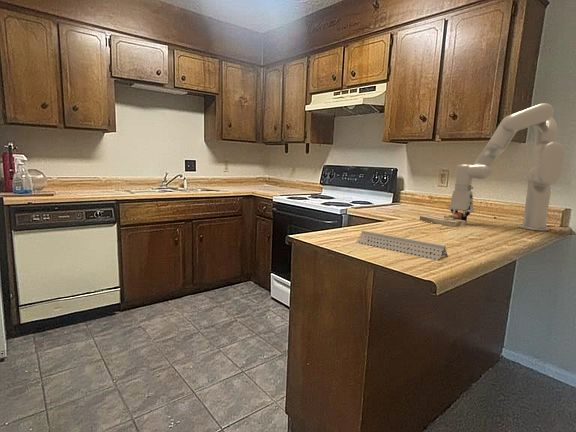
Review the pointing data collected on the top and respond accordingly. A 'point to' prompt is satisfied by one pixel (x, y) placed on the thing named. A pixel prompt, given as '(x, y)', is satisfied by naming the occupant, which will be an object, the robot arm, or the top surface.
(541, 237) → the top surface
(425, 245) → the corner bead
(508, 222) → the top surface
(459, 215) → the gauge
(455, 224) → the board
